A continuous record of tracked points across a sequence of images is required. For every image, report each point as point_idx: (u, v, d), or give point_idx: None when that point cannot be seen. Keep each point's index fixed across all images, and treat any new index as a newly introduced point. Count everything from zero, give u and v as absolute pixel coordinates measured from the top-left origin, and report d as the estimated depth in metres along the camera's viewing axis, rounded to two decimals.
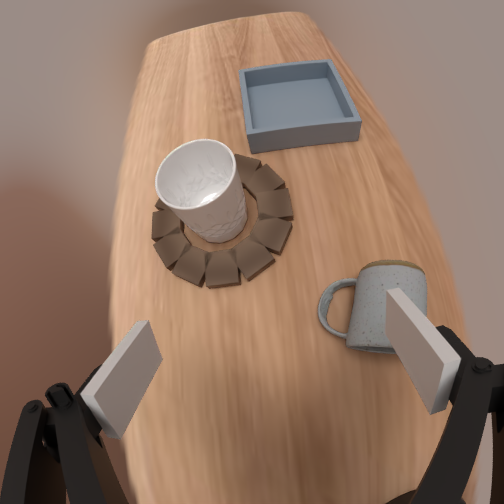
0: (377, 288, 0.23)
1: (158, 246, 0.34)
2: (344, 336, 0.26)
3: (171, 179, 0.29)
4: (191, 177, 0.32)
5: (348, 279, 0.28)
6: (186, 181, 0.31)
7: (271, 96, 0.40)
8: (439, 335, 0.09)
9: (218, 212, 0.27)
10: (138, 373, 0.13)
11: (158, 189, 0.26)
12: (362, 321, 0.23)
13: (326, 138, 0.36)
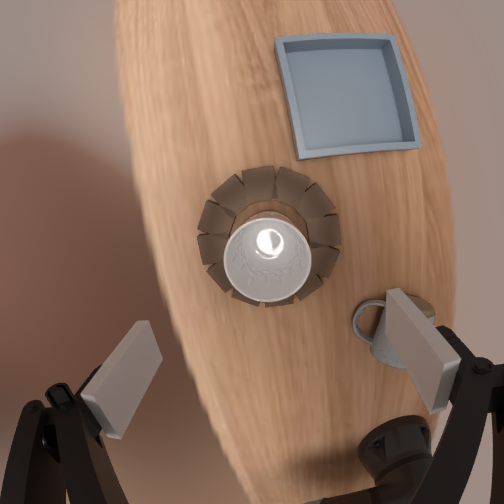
0: None
1: (211, 272, 0.36)
2: (370, 343, 0.36)
3: (232, 246, 0.29)
4: (246, 225, 0.30)
5: (379, 304, 0.35)
6: (242, 230, 0.31)
7: (315, 73, 0.30)
8: (439, 335, 0.09)
9: None
10: (138, 373, 0.13)
11: (231, 278, 0.27)
12: (385, 349, 0.33)
13: (379, 151, 0.31)
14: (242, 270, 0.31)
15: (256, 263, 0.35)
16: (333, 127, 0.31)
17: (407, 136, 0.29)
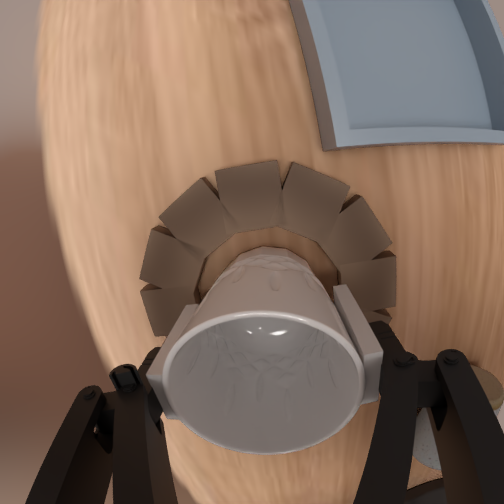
0: None
1: None
2: None
3: (188, 345, 0.12)
4: None
5: None
6: None
7: (352, 2, 0.13)
8: (368, 328, 0.11)
9: None
10: None
11: (184, 418, 0.11)
12: (432, 449, 0.17)
13: (464, 143, 0.15)
14: (213, 377, 0.14)
15: (245, 344, 0.18)
16: (389, 93, 0.15)
17: (503, 122, 0.13)
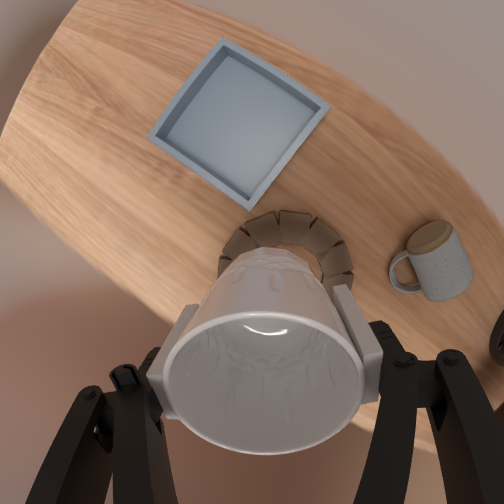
0: (434, 269, 0.29)
1: None
2: (421, 291, 0.34)
3: (188, 345, 0.12)
4: None
5: (401, 258, 0.34)
6: None
7: (201, 129, 0.33)
8: (368, 328, 0.11)
9: None
10: None
11: (185, 418, 0.11)
12: (433, 289, 0.31)
13: None
14: (214, 378, 0.14)
15: (245, 344, 0.18)
16: (254, 157, 0.33)
17: (313, 106, 0.30)
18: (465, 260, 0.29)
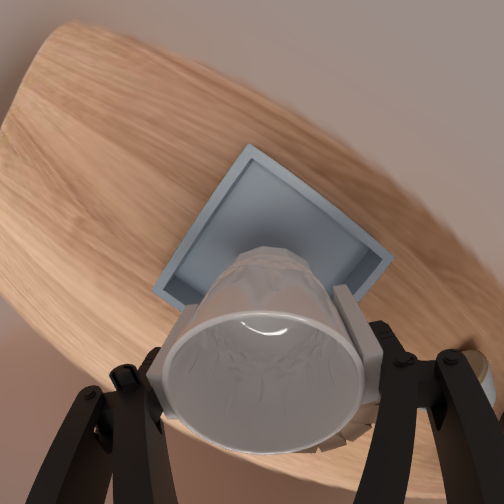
0: None
1: None
2: None
3: (187, 345, 0.12)
4: None
5: None
6: None
7: (222, 268, 0.27)
8: (368, 329, 0.11)
9: None
10: None
11: (184, 418, 0.11)
12: None
13: None
14: (213, 377, 0.14)
15: (245, 344, 0.18)
16: None
17: None
18: (492, 392, 0.23)
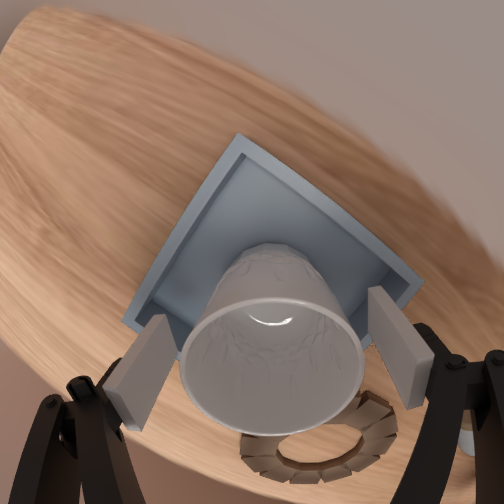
0: None
1: (294, 482, 0.28)
2: None
3: (200, 334, 0.14)
4: None
5: None
6: None
7: (208, 293, 0.21)
8: (415, 332, 0.10)
9: None
10: (157, 366, 0.14)
11: (199, 403, 0.12)
12: (469, 450, 0.20)
13: None
14: (223, 366, 0.16)
15: (250, 335, 0.20)
16: None
17: None
18: None
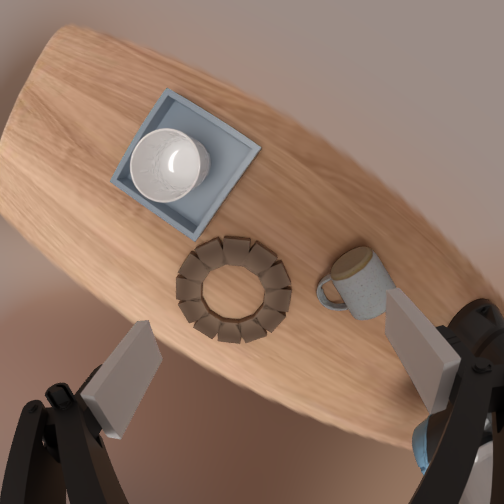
0: (351, 293, 0.37)
1: (221, 339, 0.46)
2: (347, 309, 0.41)
3: (142, 160, 0.31)
4: (157, 146, 0.32)
5: (326, 280, 0.41)
6: (154, 150, 0.33)
7: None
8: (439, 335, 0.09)
9: (190, 191, 0.32)
10: (138, 373, 0.13)
11: (136, 183, 0.29)
12: (354, 310, 0.38)
13: None
14: (153, 184, 0.33)
15: (173, 183, 0.37)
16: (199, 192, 0.39)
17: None
18: (385, 284, 0.36)
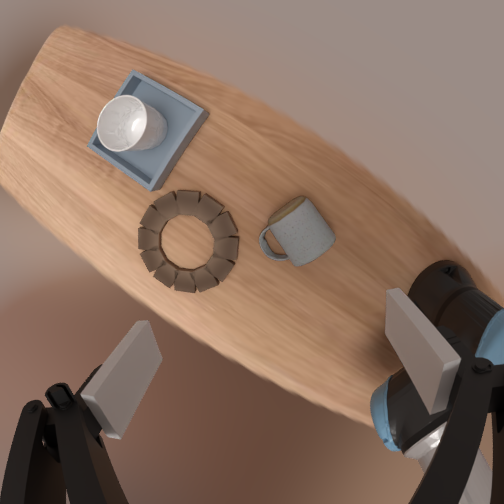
0: (284, 236, 0.40)
1: (177, 288, 0.50)
2: (289, 258, 0.45)
3: (108, 123, 0.36)
4: (122, 113, 0.37)
5: (265, 229, 0.45)
6: (119, 117, 0.37)
7: None
8: (439, 335, 0.09)
9: (142, 144, 0.36)
10: (138, 373, 0.13)
11: (100, 138, 0.34)
12: (291, 255, 0.42)
13: (191, 136, 0.42)
14: (116, 142, 0.38)
15: None
16: (158, 153, 0.44)
17: (195, 111, 0.40)
18: (319, 228, 0.40)
